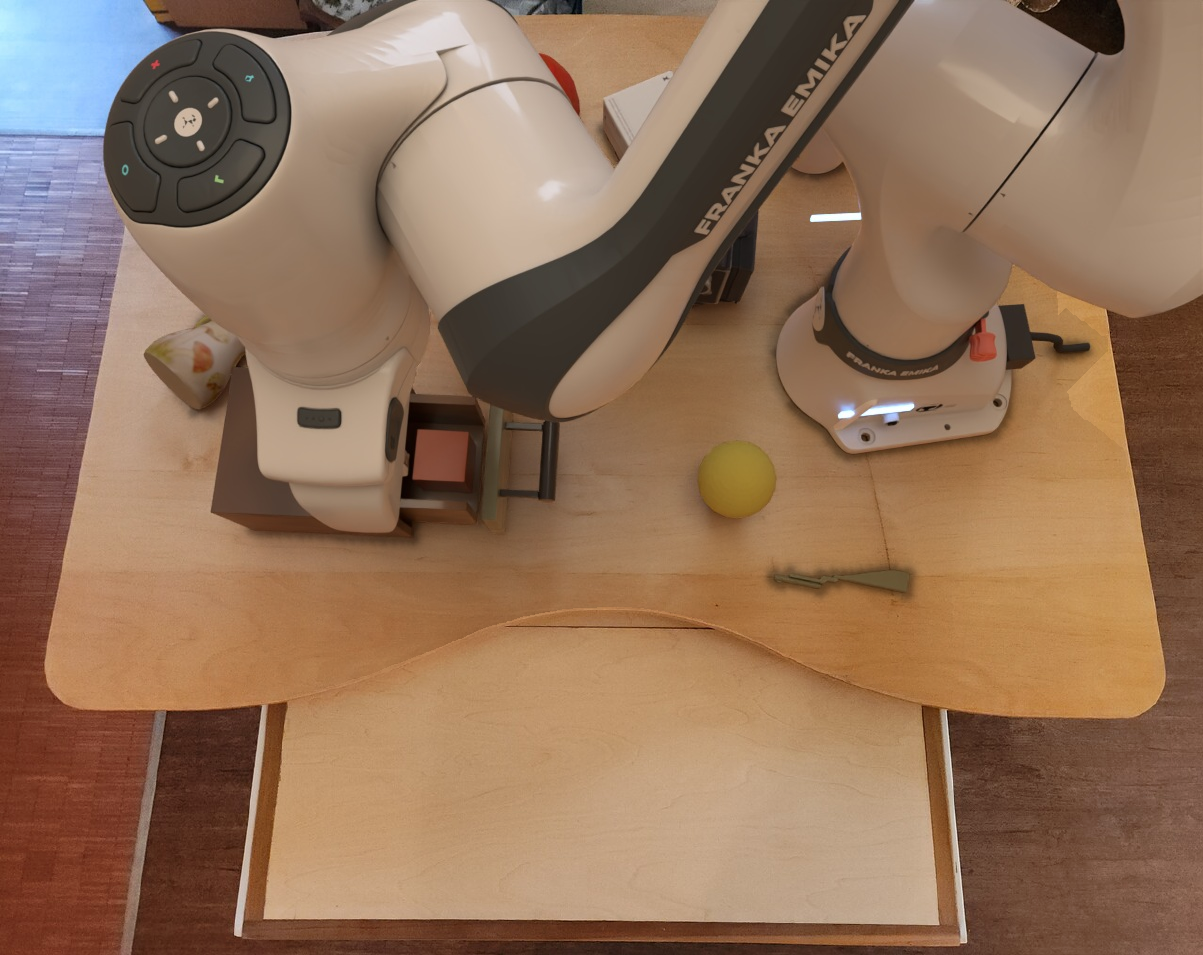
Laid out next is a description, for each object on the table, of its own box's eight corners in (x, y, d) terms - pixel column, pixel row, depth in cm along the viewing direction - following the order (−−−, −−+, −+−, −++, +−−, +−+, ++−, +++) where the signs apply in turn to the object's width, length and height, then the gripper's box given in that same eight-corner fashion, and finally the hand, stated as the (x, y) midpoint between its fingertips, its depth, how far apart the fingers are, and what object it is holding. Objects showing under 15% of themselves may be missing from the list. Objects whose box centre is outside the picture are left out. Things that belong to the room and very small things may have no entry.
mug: (289, 339, 80) (232, 353, 71) (234, 409, 83) (172, 431, 74) (230, 285, 80) (165, 292, 70) (177, 357, 82) (107, 373, 73)
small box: (600, 128, 86) (601, 95, 81) (668, 101, 87) (672, 66, 82) (632, 189, 84) (635, 159, 79) (701, 161, 85) (708, 129, 80)
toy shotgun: (906, 571, 76) (910, 570, 75) (907, 593, 75) (911, 592, 75) (772, 565, 76) (775, 564, 75) (773, 587, 75) (775, 586, 75)
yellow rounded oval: (745, 451, 78) (767, 420, 68) (770, 518, 77) (796, 495, 67) (679, 472, 77) (691, 444, 68) (702, 540, 76) (718, 520, 66)
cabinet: (425, 407, 79) (404, 374, 70) (413, 538, 76) (389, 520, 67) (273, 400, 79) (232, 366, 70) (254, 530, 76) (210, 512, 67)
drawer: (563, 416, 78) (560, 391, 71) (556, 536, 75) (552, 522, 68) (370, 408, 78) (347, 382, 71) (357, 527, 75) (332, 512, 68)
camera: (594, 324, 82) (746, 331, 80) (580, 270, 71) (757, 277, 69) (603, 228, 84) (751, 232, 83) (592, 161, 73) (762, 165, 72)
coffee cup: (755, 114, 86) (781, 27, 75) (840, 94, 87) (878, 5, 75) (783, 190, 84) (814, 113, 73) (869, 170, 85) (913, 90, 73)
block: (476, 445, 76) (469, 431, 71) (472, 493, 75) (464, 482, 70) (427, 442, 76) (417, 429, 71) (422, 490, 75) (412, 479, 70)
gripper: (302, 135, 45) (372, 256, 58) (253, 505, 40) (341, 543, 54) (417, 139, 45) (460, 259, 58) (381, 510, 40) (437, 546, 54)
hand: (403, 398), depth 56 cm, fingers open, 8 cm apart
